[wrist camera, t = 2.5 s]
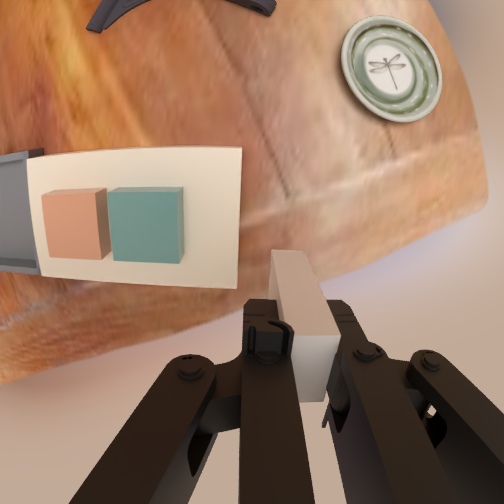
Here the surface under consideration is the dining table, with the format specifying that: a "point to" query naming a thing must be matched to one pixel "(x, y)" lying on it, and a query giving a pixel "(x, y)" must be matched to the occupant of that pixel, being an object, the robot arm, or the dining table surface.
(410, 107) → the saucer
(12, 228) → the tray
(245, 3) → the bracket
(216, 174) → the cream board
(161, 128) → the dining table surface
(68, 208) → the terracotta tile
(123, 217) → the green glazed tile
